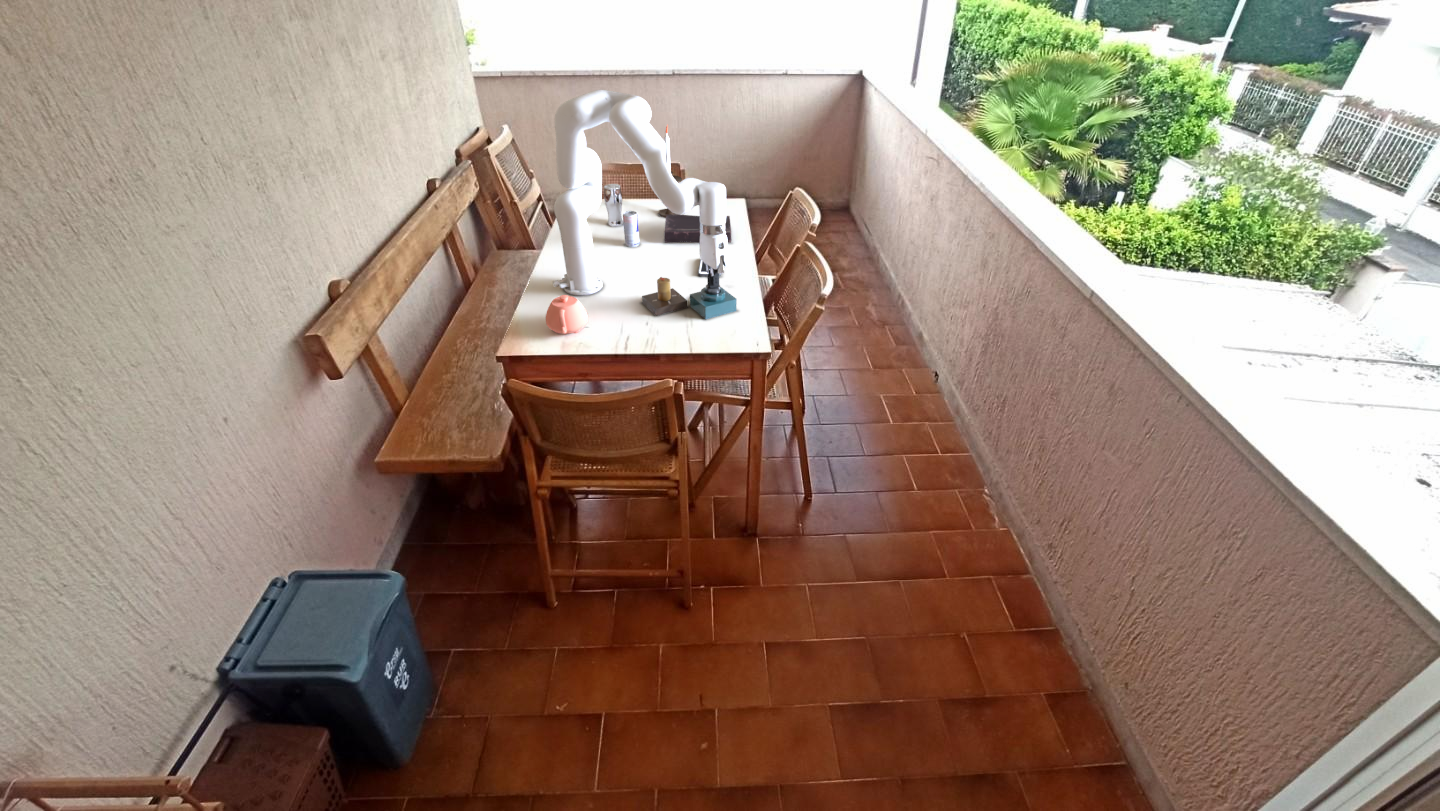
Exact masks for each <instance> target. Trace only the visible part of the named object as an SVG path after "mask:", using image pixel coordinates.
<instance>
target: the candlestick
mask: <svg viewBox="0 0 1440 811" xmlns="http://www.w3.org/2000/svg"><path fill="white" fill-rule="evenodd" d="M668 131H669V124H667V125H666V127H665V135H664V137H663V140H664V142H665V144H666V156H665V158H666V164H667V167H668V170H669V172H670V173H671V175H672V176H673V178H674V179H675V180H676V181H677V183H678V184H679V183H680V182H681V181H683V178H682V176H679V175H675V174H673V173H674V171H672V170H671V150H670V148H671V147H670V137H669V135H668ZM666 215H680V214H675V213H673V212H671V211H670V210H669V209H668V208H667V207H666V208H662V209H660V210H659V211H658V216H659V217H661V218H665V219H666Z"/></svg>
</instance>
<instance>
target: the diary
mask: <svg viewBox="0 0 1440 811" xmlns="http://www.w3.org/2000/svg"><path fill="white" fill-rule="evenodd" d="M731 227H732V226H731V216H730V215H726V236H727V242H728V244H729V243H732V228H731ZM663 234H664V243H665V244H675V243H691V244H693V243H694V244H695V243H696V244H700V215H690V214H681V215H666V218H665V223H664V231H663Z"/></svg>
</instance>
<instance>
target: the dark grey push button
mask: <svg viewBox="0 0 1440 811" xmlns="http://www.w3.org/2000/svg"><path fill="white" fill-rule="evenodd" d="M705 287H706V294H709V295H717V294H719V293H720V287H721V285H720V284H719V286H717V287H713V288H710V287H709V286H708V283H707V284H706V285H705Z"/></svg>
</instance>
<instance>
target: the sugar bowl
mask: <svg viewBox="0 0 1440 811" xmlns="http://www.w3.org/2000/svg"><path fill="white" fill-rule="evenodd" d="M588 314H589V313H588V312H587V309H586V308H585V306H584V305H583V303H581V301H580V300H579V299H578V298H576V297H575V296H573V295H567V294H561V295H559V296H556V297H555V298H553V299H552V300H551V302H550V303H549V305H548V307H547V310H546V313H545V325H546V326H547V327H548V329H549V330H551V331H552V332H554V333H556V334H561V335H569V334H577V333H579V332H580V331H582V330H583V329H584V328H585V327H586V325H587V324H588V322H589V315H588Z"/></svg>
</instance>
